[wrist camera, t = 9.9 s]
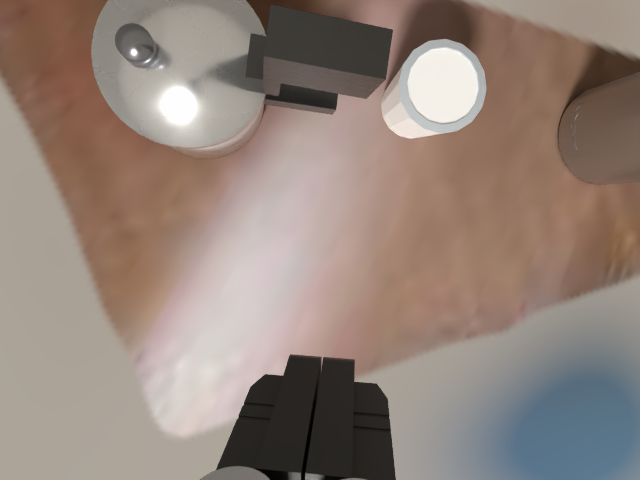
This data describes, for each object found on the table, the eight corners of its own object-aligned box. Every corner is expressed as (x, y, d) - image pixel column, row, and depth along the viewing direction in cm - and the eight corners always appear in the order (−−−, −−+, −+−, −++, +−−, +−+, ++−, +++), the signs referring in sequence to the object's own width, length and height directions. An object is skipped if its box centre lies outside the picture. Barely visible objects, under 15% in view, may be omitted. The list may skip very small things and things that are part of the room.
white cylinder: (394, 53, 39) (423, 20, 32) (460, 89, 40) (502, 65, 33) (361, 124, 39) (383, 107, 32) (428, 158, 40) (463, 148, 33)
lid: (366, 14, 29) (405, -57, 21) (343, 173, 30) (373, 162, 22) (107, -41, 27) (43, -143, 19) (88, 134, 27) (19, 105, 19)
